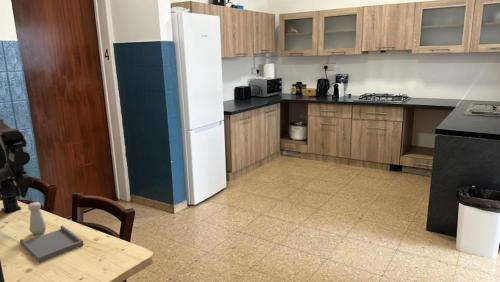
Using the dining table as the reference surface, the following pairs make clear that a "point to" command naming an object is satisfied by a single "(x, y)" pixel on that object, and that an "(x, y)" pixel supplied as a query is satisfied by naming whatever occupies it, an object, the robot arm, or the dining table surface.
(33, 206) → the salt shaker
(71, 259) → the dining table surface
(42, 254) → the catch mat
